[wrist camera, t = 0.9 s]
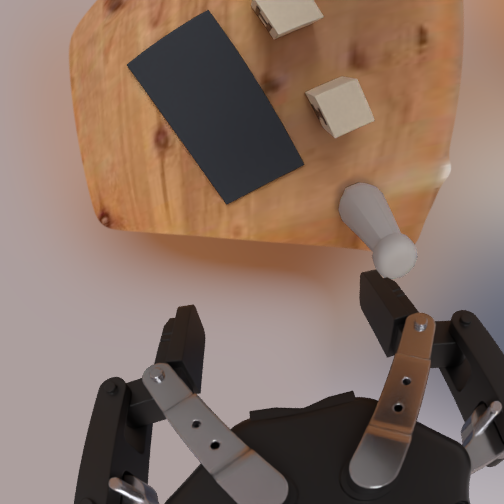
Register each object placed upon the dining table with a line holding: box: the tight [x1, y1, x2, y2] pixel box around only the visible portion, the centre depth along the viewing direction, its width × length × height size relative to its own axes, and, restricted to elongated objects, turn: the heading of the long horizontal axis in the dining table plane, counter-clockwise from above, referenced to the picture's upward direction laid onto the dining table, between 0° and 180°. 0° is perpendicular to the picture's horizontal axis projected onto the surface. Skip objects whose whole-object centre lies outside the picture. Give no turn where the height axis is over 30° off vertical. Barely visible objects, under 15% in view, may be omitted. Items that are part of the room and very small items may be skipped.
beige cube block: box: [305, 76, 375, 138], centre depth 25 cm, size 4×5×4 cm
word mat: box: [127, 10, 304, 204], centre depth 27 cm, size 20×10×1 cm, turn 30°
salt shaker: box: [339, 182, 417, 279], centre depth 28 cm, size 6×6×13 cm
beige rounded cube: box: [251, 0, 324, 39], centre depth 19 cm, size 4×5×4 cm
